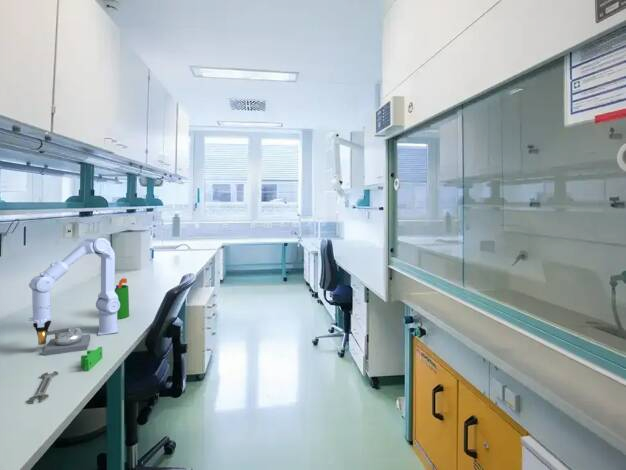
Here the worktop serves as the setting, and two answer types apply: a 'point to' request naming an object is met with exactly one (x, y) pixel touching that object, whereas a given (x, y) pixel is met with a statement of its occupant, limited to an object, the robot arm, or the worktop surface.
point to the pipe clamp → (91, 358)
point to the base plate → (67, 346)
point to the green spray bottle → (122, 299)
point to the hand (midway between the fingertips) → (42, 340)
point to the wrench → (43, 387)
